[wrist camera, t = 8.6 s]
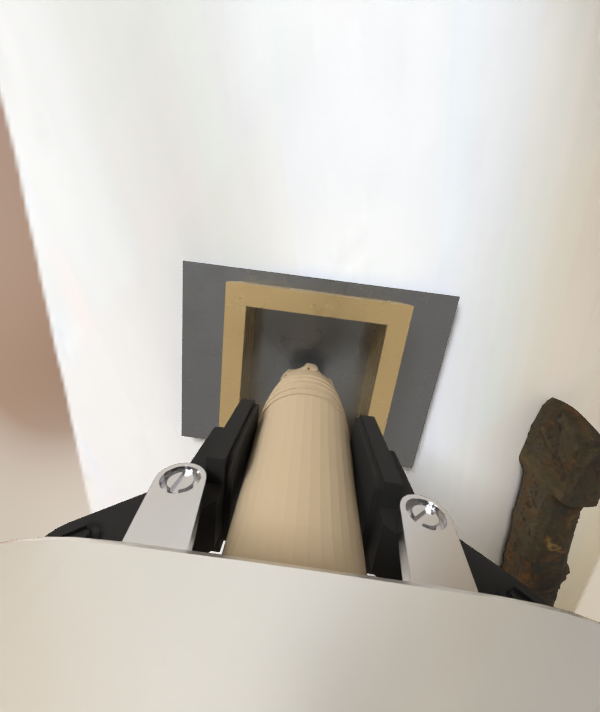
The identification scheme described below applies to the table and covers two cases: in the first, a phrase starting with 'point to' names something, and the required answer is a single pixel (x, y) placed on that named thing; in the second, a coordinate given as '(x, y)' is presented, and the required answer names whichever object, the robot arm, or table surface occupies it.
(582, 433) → the dark brown carved statuette
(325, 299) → the collar base
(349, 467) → the handle
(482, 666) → the robot arm
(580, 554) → the table surface
